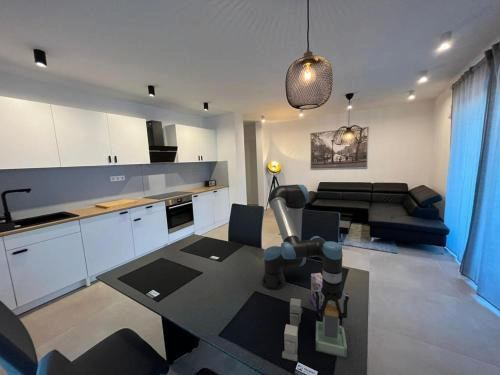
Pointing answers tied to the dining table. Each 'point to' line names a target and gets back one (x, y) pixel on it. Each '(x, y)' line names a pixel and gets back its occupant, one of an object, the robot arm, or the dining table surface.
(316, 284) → the candy box
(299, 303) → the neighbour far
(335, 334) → the block
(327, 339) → the tray
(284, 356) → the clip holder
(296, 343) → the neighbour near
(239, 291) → the dining table surface
